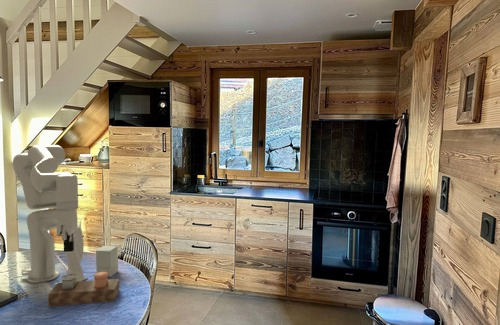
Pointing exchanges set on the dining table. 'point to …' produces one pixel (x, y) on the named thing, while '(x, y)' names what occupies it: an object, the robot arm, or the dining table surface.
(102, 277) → the terracotta plug
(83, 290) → the plug block
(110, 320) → the dining table surface
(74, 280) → the plug
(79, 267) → the skyscraper
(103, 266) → the supplement box
